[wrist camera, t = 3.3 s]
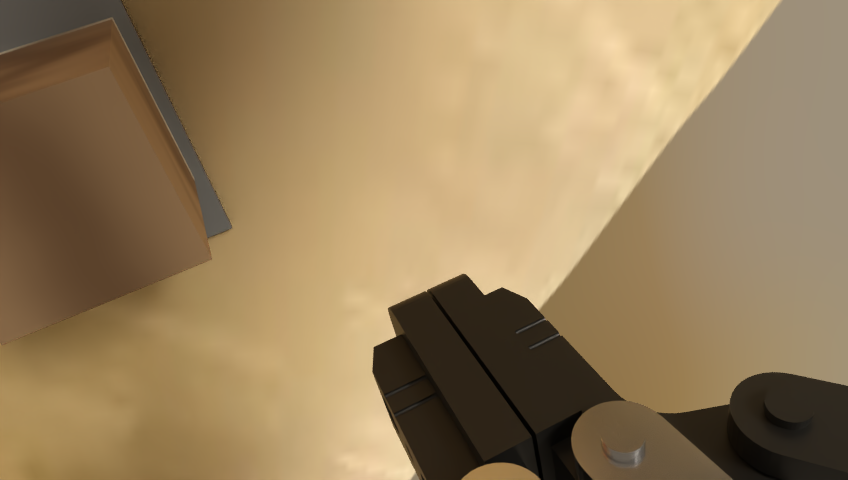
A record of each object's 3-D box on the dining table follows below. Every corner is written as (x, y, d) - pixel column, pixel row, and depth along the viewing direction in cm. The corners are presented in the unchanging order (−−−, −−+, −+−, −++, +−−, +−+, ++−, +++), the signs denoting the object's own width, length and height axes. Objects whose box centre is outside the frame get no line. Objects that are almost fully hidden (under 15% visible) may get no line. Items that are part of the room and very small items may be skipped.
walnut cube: (112, 17, 23) (109, 66, 17) (193, 177, 27) (212, 259, 21) (-91, 81, 21) (-165, 158, 16) (28, 240, 26) (1, 345, 20)
